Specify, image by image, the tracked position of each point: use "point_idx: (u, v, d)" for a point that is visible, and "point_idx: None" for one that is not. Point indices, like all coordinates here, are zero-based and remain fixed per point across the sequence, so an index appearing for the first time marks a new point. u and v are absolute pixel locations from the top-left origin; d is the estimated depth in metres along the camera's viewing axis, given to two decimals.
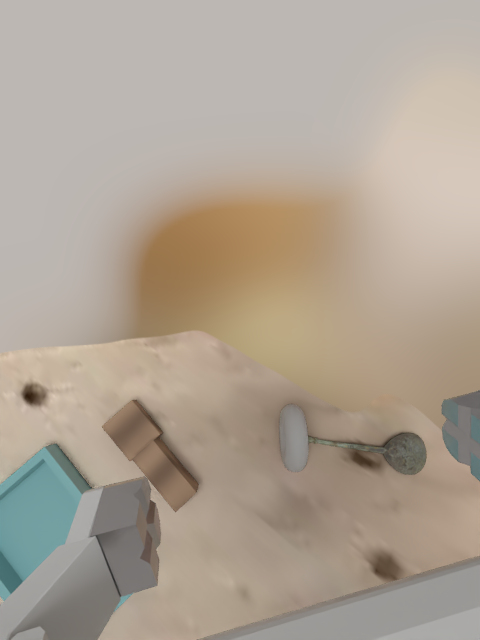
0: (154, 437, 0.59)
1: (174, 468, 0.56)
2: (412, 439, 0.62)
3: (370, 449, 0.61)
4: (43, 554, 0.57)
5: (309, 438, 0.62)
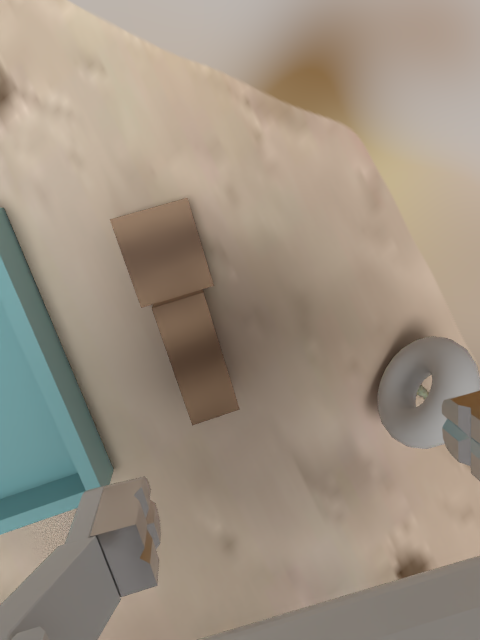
0: (201, 286, 0.30)
1: (220, 357, 0.30)
2: None
3: None
4: None
5: (423, 390, 0.38)
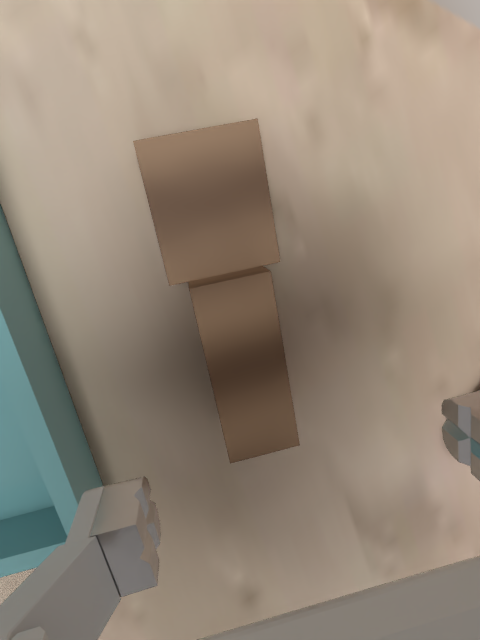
0: (261, 261, 0.20)
1: (283, 370, 0.20)
2: None
3: None
4: None
5: None
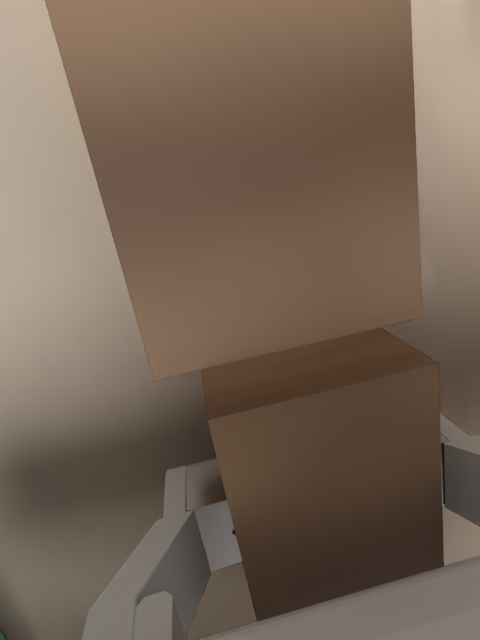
0: (380, 318, 0.08)
1: None
2: None
3: None
4: None
5: None
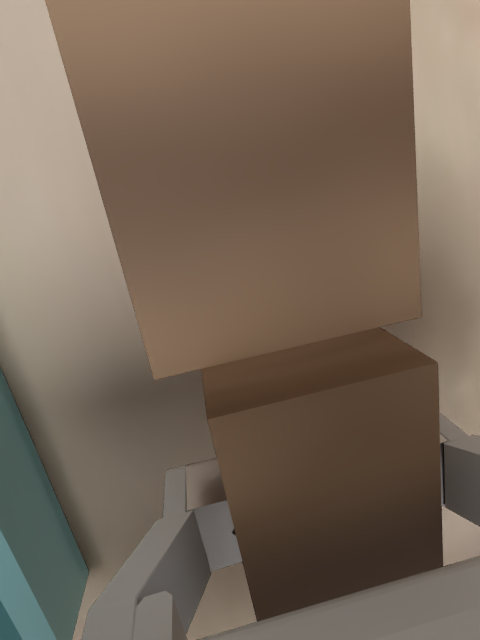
0: (379, 317, 0.08)
1: None
2: None
3: None
4: None
5: None
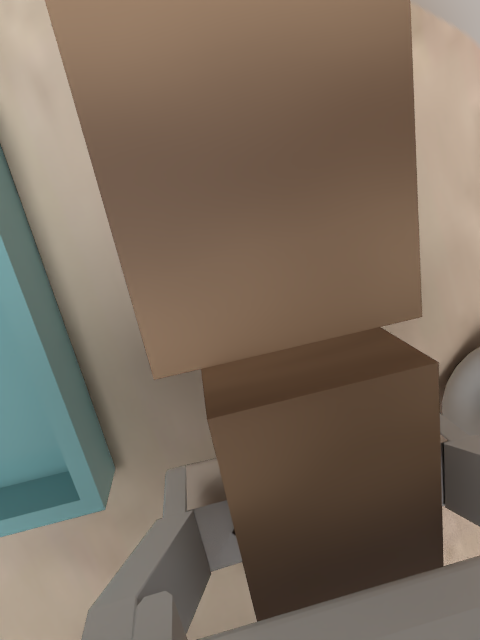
0: (380, 317, 0.08)
1: None
2: None
3: None
4: None
5: None
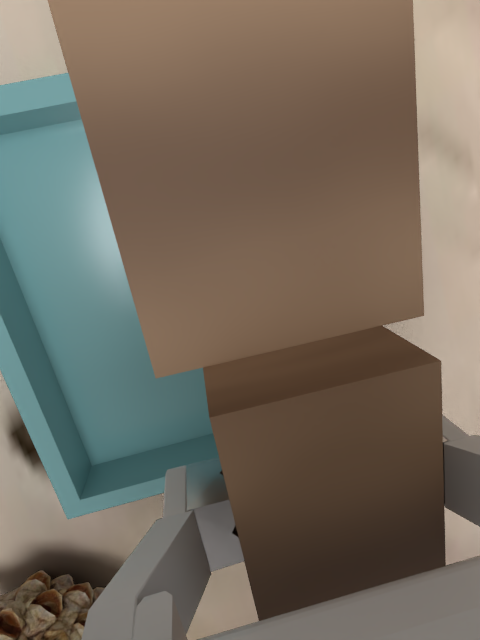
0: (382, 316, 0.08)
1: None
2: None
3: None
4: (102, 305, 0.24)
5: None
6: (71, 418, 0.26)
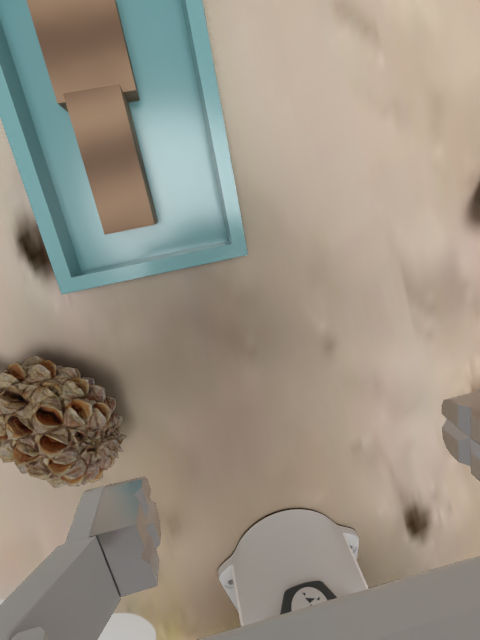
0: (122, 88, 0.29)
1: (136, 162, 0.29)
2: None
3: None
4: None
5: None
6: (66, 225, 0.34)
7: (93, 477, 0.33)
